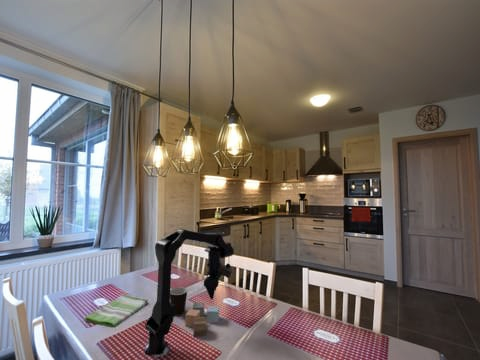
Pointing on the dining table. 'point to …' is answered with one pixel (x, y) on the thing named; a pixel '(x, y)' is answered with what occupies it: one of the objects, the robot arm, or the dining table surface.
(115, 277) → the dining table surface
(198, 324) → the walnut block
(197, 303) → the grey block
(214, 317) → the grey cube
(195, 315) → the terracotta block
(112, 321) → the dish towel
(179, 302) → the coffee mug
